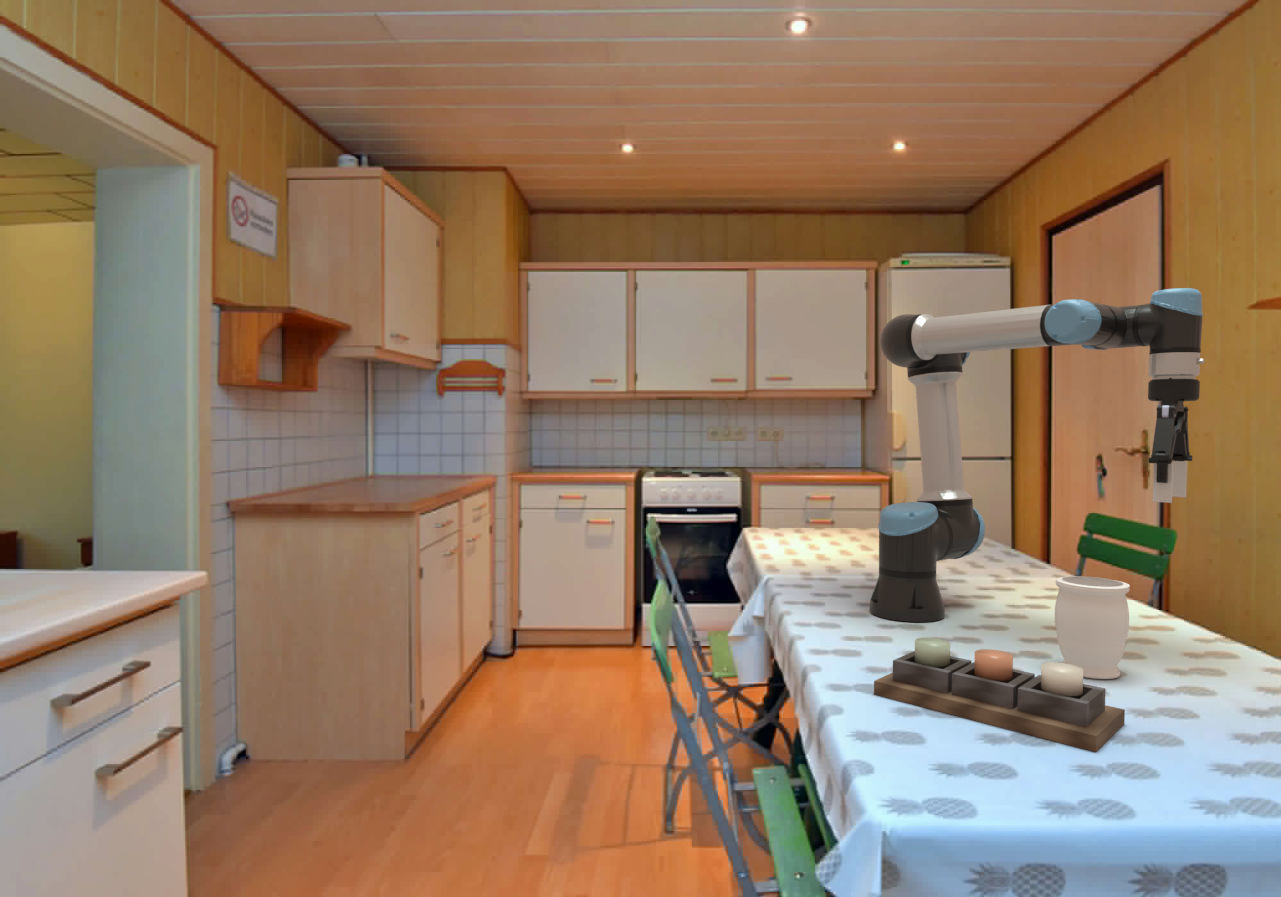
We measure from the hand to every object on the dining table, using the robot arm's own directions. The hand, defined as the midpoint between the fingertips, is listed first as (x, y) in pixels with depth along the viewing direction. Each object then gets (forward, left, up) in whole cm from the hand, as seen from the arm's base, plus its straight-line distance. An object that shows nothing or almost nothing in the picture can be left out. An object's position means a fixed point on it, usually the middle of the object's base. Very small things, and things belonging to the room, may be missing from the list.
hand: (1169, 499), depth 141 cm
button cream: (-2, -50, -23) cm, 55 cm away
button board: (-11, -50, -27) cm, 58 cm away
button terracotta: (-11, -50, -23) cm, 56 cm away
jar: (-6, -21, -28) cm, 35 cm away
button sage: (-20, -50, -23) cm, 58 cm away
